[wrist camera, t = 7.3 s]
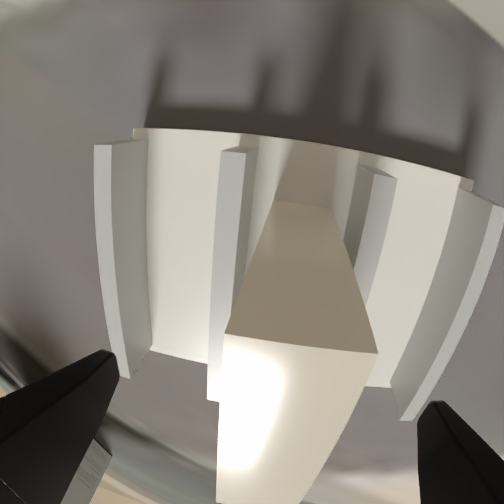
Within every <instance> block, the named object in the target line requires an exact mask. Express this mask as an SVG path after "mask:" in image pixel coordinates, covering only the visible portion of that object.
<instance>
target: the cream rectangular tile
mask: <svg viewBox="0 0 504 504" xmlns="http://www.w3.org/2000/svg"><path fill="white" fill-rule="evenodd" d="M378 354H379V353H378V350H377V346H376V342H375V339H374V335H373V332H372V328H371V325H370V322H369V318H368V315H367V311H366V308H365V305H364V302H363V298H362V295H361V292H360V289H359V286H358V283H357V280H356V277H355V274H354V271H353V268H352V265H351V262H350V259H349V256H348V253H347V250H346V247H345V244H344V242H343V239H342V236H341V233H340V230H339V228H338V225H337V222H336V220H335V217H334V214H333V212H332V209H331V208H324V207H318V206H312V205H305V204H298V203H291V202H284V201H277V200H273V202H272V205H271V208H270V211H269V213H268V216H267V219H266V221H265V224H264V227H263V230H262V232H261V235H260V238H259V240H258V243H257V246H256V249H255V251H254V254H253V257H252V259H251V262H250V265H249V267H248V270H247V273H246V276H245V278H244V281H243V284H242V286H241V289H240V292H239V294H238V297H237V300H236V303H235V305H234V308H233V311H232V313H231V316H230V319H229V321H228V324H227V327H226V330H225V332H224V343H223V359H222V376H221V394H220V414H219V435H218V458H217V484H216V502H219V503H224V504H299V503H300V502H301V500H302V499H303V497H304V496H305V494H306V493H307V491H308V490H309V488H310V487H311V485H312V483H313V482H314V480H315V479H316V477H317V475H318V474H319V472H320V470H321V469H322V467H323V465H324V464H325V462H326V460H327V458H328V457H329V455H330V453H331V451H332V450H333V448H334V446H335V444H336V442H337V441H338V439H339V437H340V435H341V433H342V431H343V429H344V427H345V426H346V424H347V422H348V420H349V418H350V416H351V414H352V412H353V410H354V408H355V406H356V404H357V401H358V399H359V397H360V395H361V393H362V391H363V389H364V387H365V384H366V382H367V380H368V378H369V375H370V373H371V371H372V369H373V366H374V364H375V361H376V359H377V357H378Z"/></svg>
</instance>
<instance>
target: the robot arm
mask: <svg viewBox="0 0 504 504" xmlns="http://www.w3.org/2000/svg"><path fill="white" fill-rule="evenodd" d="M119 377H120V373H119V368H118V363H117V358H116V355H115V354H114V353H113V352H110V351H107V350H103V349H102V350H99V351H97V352H95V353H93V354H91V355H89V356H87V357H85V358H83V359H81V360H79V361H77V362H75V363H72V364H70V365H68V366H66V367H64V368H62V369H60V370H58V371H56V372H54V373H52V374H50V375H48V376H46V377H44V378H41V379H39V380H37V381H35V382H33V383H31V384H29V385H27V386H25V387H23V388H20V389H18V390H16V391H14V392H12V393H10V394H8V395H6V396H5V397H4V396H3V397H1V398H0V504H61V502H62V500H63V498H64V496H65V494H66V492H67V490H68V488H69V485H70V483H71V481H72V479H73V477H74V475H75V473H76V471H77V469H78V467H79V465H80V464H81V462H82V460H83V458H84V456H85V454H86V452H87V450H88V448H89V446H90V444H91V442H92V440H93V438H94V437H95V435H96V433H97V431H98V429H99V427H100V425H101V423H102V421H103V419H104V416H105V414H106V411H107V409H108V406H109V403H110V401H111V398H112V396H113V393H114V391H115V388H116V386H117V383H118V381H119ZM417 437H418V475H419V486H420V499H421V504H504V461H503V460H502V458H501V457H500V456H499V455H498V454H497V453H496V452H495V451H494V450H493V449H492V448H491V447H490V446H489V445H488V444H487V443H486V442H485V441H484V440H483V439H482V438H481V437H480V436H479V435H478V434H477V433H476V432H475V431H474V430H473V429H472V428H471V427H470V426H469V425H468V424H467V423H466V422H465V421H464V420H463V419H462V418H461V417H460V416H459V415H458V414H457V413H456V412H455V411H454V410H453V409H452V408H451V407H450V406H449V405H448V404H447V403H446V402H444V401H442V400H439V401H431V402H430V403H429V404H428V405H427V407H426V408H425V410H424V411H423V413H422V414H421V416H420V417H419V420H418V423H417Z"/></svg>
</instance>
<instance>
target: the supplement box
mask: <svg viewBox="0 0 504 504" xmlns="http://www.w3.org/2000/svg"><path fill="white" fill-rule="evenodd" d="M111 459H112V456H111V455H110V454H109V453H108V452H106V451H105V450H104V449H103V448H102V447H101V446H100V445H99V444H98V443H97V442H96V441H95V440H94V439H93V440H92V442H91V444H90V446H89V448H88V450H87V452H86V454H85V456H84V458H83V460H82V462H81V464H80V465H79V467H78V469H77V471H76V473H75V475H74V477H73V479H72V481H71V483H70V485H69V488H68V490H67V492H66V494H65V496H64V498H63V500H62V502H61V504H89V502H90V501H91V498H92V497H93V495H94V493H95V490H96V488H97V487H98V485H99V483H100V481H101V479H102V477H103V475H104V472H105V470H106V469H107V467H108V465H109V463H110V461H111Z"/></svg>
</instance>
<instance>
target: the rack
mask: <svg viewBox="0 0 504 504" xmlns="http://www.w3.org/2000/svg"><path fill="white" fill-rule="evenodd" d="M473 184H474V181H473V180H471V179H468V178H465V177H462V176H459V175H456V174H452V173H449V172H446V171H442V170H439V169H435V168H431V167H428V166H424V165H420V164H416V163H412V162H408V161H404V160H400V159H396V158H391V157H387V156H383V155H378V154H373V153H369V152H364V151H359V150H354V149H349V148H343V147H338V146H332V145H327V144H321V143H314V142H308V141H301V140H295V139H287V138H280V137H272V136H264V135H255V134H245V133H235V132H223V131H210V130H195V129H175V128H133V139H131V140H123V141H116V142H109V143H103V144H96V145H94V204H95V225H96V239H97V251H98V262H99V271H100V280H101V288H102V295H103V303H104V309H105V316H106V322H107V328H108V333H109V339H110V344H111V349H112V352H113V353H114V354H115V355H116V358H117V363H118V368H119V373H120V376H123V377H126V378H129V379H131V378H132V376H133V374H134V373H135V371H136V370H137V368H138V366H139V365H140V363H141V362H142V360H143V359H144V357H145V355H146V354H147V352H148V351H149V350H151V351H155V352H159V353H163V354H167V355H171V356H175V357H179V358H184V359H188V360H192V361H197V362H202V363H206V364H208V377H207V399H208V400H212V401H217V402H220V394H221V376H222V359H223V343H224V332H225V330H226V327H227V324H228V321H229V319H230V316H231V313H232V311H233V308H234V305H235V303H236V300H237V297H238V294H239V292H240V289H241V286H242V284H243V281H244V278H245V276H246V273H247V270H248V267H249V265H250V262H251V259H252V257H253V254H254V251H255V249H256V246H257V243H258V240H259V238H260V235H261V232H262V230H263V227H264V224H265V221H266V219H267V216H268V213H269V211H270V208H271V205H272V202H273V200H277V201H284V202H291V203H298V204H305V205H312V206H318V207H324V208H331V209H332V212H333V214H334V217H335V220H336V222H337V225H338V228H339V230H340V233H341V236H342V239H343V242H344V244H345V247H346V250H347V253H348V256H349V259H350V262H351V265H352V268H353V271H354V274H355V277H356V280H357V283H358V286H359V289H360V292H361V295H362V298H363V302H364V305H365V308H366V311H367V315H368V318H369V322H370V325H371V328H372V332H373V335H374V339H375V342H376V346H377V350H378V353H379V354H378V357H377V359H376V361H375V364H374V366H373V369H372V371H371V373H370V375H369V378H368V380H367V382H366V384H365V386H371V387H389V388H391V389H392V393H393V397H394V401H395V405H396V409H397V414H398V418H399V421H413V419H414V418H415V416H416V415H417V413H418V412H419V410H420V409H421V407H422V406H423V404H424V403H425V401H426V399H427V398H428V396H429V395H430V393H431V391H432V390H433V388H434V386H435V385H436V383H437V381H438V380H439V378H440V376H441V374H442V373H443V371H444V369H445V367H446V365H447V363H448V362H449V360H450V358H451V356H452V354H453V352H454V350H455V348H456V346H457V344H458V342H459V340H460V338H461V336H462V334H463V332H464V330H465V328H466V326H467V324H468V321H469V319H470V317H471V315H472V312H473V310H474V308H475V305H476V303H477V301H478V298H479V296H480V293H481V291H482V288H483V286H484V283H485V280H486V278H487V275H488V272H489V269H490V267H491V264H492V261H493V258H494V255H495V252H496V249H497V245H498V242H499V239H500V236H501V232H502V229H503V225H504V207H502V206H500V205H499V204H497V203H495V202H493V201H491V200H488V199H486V198H484V197H482V196H480V195H478V194H476V193H474V192H472V189H473Z"/></svg>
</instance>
